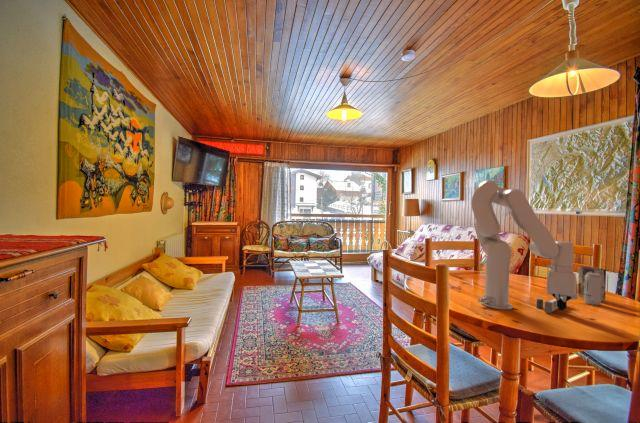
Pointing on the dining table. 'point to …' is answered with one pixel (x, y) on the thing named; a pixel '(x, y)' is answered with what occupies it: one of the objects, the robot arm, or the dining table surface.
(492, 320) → the dining table surface
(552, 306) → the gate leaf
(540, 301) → the stop post
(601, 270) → the coffee box
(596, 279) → the energy drink can
